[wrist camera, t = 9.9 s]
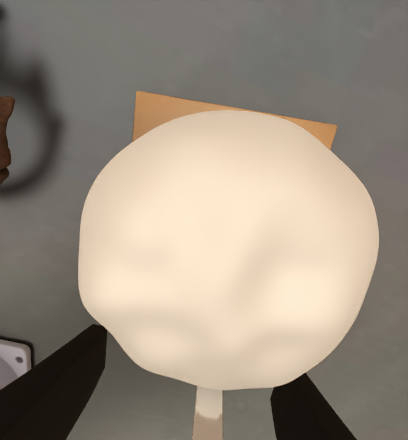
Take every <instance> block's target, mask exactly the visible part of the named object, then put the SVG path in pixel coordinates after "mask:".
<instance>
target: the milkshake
mask: <svg viewBox="0 0 408 440" xmlns="http://www.w3.org/2000/svg"><path fill="white" fill-rule="evenodd" d="M378 247H379V232H378V223H377V218H376V213H375V209H374V206H373V203H372V200H371V198H370V196H369V194H368V192H367V190H366V188H365V187H364V185H363V184H362V183H361V181H360V180H359V179H358V178H357V176H356V175H355V174H354V173H353V172H352V171H351V170H350V169H349V168H348V167H347V166H346V165H345V164H344V163H343V162H342V161H341V160H340V159H339V158H338V157H337V156H336V155H334V154H333V153H332V152H331V151H330V150H329V149H328V148H327V147H326V146H325V145H324V144H322V143H321V142H320V141H319V140H318V139H317V138H315V137H314V136H313V135H312V134H311V133H309V132H308V131H306V130H305V129H304V128H302V127H300V126H299V125H297V124H295V123H293V122H290V121H288V120H285V119H282V118H279V117H275V116H271V115H267V114H262V113H256V112H249V111H237V110H219V111H208V112H201V113H195V114H191V115H186V116H183V117H180V118H177V119H174V120H171V121H169V122H166V123H164V124H162V125H160V126H158V127H156V128H154V129H152V130H151V131H149V132H147V133H146V134H144V135H143V136H141V137H140V138H138V139H137V140H135V141H134V142H132V143H131V144H130V145H128V146H127V147H126V148H124V149H123V150H122V151H121V152H119V153H118V154H117V155H116V156H115V157H114V158H113V159H112V160H111V161H110V162H109V163H108V164H107V165H106V166H105V167H104V169H103V170H102V171H101V172H100V174H99V175H98V177H97V178H96V180H95V181H94V183H93V185H92V187H91V189H90V191H89V193H88V195H87V198H86V201H85V204H84V208H83V212H82V218H81V225H80V243H79V266H78V283H79V292H80V296H81V300H82V302H83V305H84V306H85V308H86V310H87V311H88V312H89V313H90V315H91V316H92V317H93V318H94V319H96V320H97V321H98V322H99V323H100V324H101V325H102V326H104V327H105V328H106V329H107V330H108V331H109V332H110V333H111V334H112V335H113V336H114V338H115V339H116V340H117V342H118V343H119V344H120V346H121V347H122V348H123V350H124V351H125V352H126V353H127V355H128V356H129V357H130V358H131V359H132V360H133V361H134V362H135V363H136V364H137V365H139V366H140V367H142V368H143V369H145V370H147V371H150V372H153V373H156V374H159V375H163V376H167V377H171V378H174V379H178V380H181V381H184V382H187V383H190V384H193V385H196V386H197V388H196V400H195V411H194V422H193V434H192V440H223V390H235V389H247V388H270V387H276V386H280V385H284V384H286V383H289V382H291V381H293V380H294V379H296V378H298V377H299V376H301V375H302V374H304V373H305V372H307V371H308V370H310V369H311V368H313V367H314V366H316V365H317V364H318V363H320V362H321V361H322V360H323V359H324V358H326V357H327V356H328V355H329V354H330V353H331V352H332V351H333V350H334V349H335V347H336V346H337V345H338V344H339V343H340V342H341V340H342V339H343V338H344V336H345V335H346V333H347V332H348V331H349V329H350V327H351V326H352V324H353V322H354V321H355V319H356V317H357V314H358V312H359V310H360V308H361V305H362V303H363V300H364V297H365V295H366V292H367V289H368V286H369V283H370V280H371V277H372V274H373V271H374V268H375V264H376V260H377V254H378Z"/></svg>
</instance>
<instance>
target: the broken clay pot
mask: <svg viewBox="0 0 408 440" xmlns="http://www.w3.org/2000/svg"><path fill="white" fill-rule="evenodd" d="M14 103H15V99H14V98H13V97H9V96H6V97H0V184H1V183H2V182H3V181H4V180H5V179H6V178H7V177H8V176H9V171H8V169H7V168H6V167H7V166H9V165H10V164H11V154H10V150H9V148H8V141H7V137H6V127H7V121H8V119H9V117H10V116H11V114H12V111H13V108H14Z"/></svg>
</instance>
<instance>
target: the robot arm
mask: <svg viewBox="0 0 408 440" xmlns="http://www.w3.org/2000/svg"><path fill="white" fill-rule="evenodd" d="M106 343H107V329H106V328H105V327H104V326H100V325H95V324H93V325H91V326H90V327H88V328H87V329H86V330H84V331H83V332H81V333H80V334H79V335H77V336H76V337H75V338H73V339H72V340H71V341H69V342H68V343H67V344H65V345H64V346H63V347H61V348H60V349H59V350H57V351H56V352H54V353H53V354H52V355H50V356H49V357H47V358H46V359H45V360H43V361H42V362H40V363H39V364H38V365H36V366H35V367H33V368H32V369H31V352H30V348H29V346H27V345H25V344H21V343H16V342H11V341H6V340H1V339H0V440H66V438H67V436H68V435H69V433H70V431H71V430H72V428H73V426H74V425H75V423H76V421H77V419H78V418H79V416H80V414H81V413H82V411H83V409H84V407H85V406H86V404H87V402H88V401H89V399H90V397H91V395H92V393H93V391H94V389H95V387H96V385H97V383H98V381H99V378H100V376H101V374H102V372H103V370H104V368H105V357H106ZM270 400H271V407H272V415H273V421H274V427H275V434H276V438H277V440H357V439H356V438H355V437H354V436H353V434H352V433H351V432H350V431H349V429H348V428H347V427H346V425H345V424H344V423H343V422H342V420H341V419H340V418H339V416H338V415H337V414H336V413H335V411H334V410H333V409H332V407H331V406H330V405H329V403H328V402H327V401H326V399H325V398H324V397H323V395H322V394H321V393H320V392H319V390H318V389H317V388H316V386H315V385H314V384H313V382H312V381H311V380H310V378H309V377H308V376H307V374H306V373H304V374H302V375H301V376H299V377H298V378H296V379H294V380H293V381H291V382H289V383H286V384H284V385H280V386H276V387H274V389H273V392H272V395H271V398H270Z"/></svg>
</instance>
